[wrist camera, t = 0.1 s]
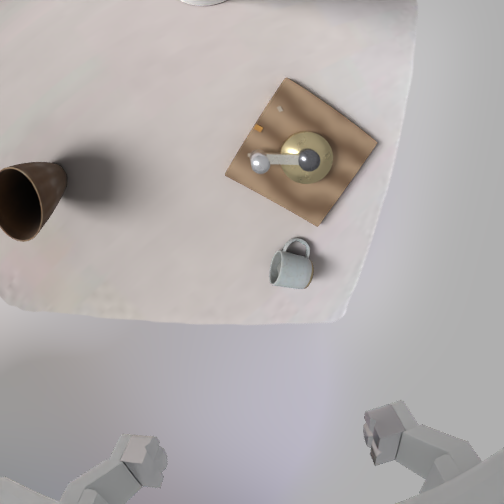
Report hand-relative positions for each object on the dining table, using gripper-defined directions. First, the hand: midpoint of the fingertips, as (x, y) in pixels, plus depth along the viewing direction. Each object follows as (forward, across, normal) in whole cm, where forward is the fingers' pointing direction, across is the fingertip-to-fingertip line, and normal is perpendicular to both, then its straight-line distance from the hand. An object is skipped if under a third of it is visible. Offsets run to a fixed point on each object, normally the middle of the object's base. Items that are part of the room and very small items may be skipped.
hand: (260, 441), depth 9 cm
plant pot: (+48, +42, -22) cm, 67 cm away
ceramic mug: (+58, -7, +8) cm, 59 cm away
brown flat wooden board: (+50, -12, -14) cm, 53 cm away
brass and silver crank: (+48, -9, -14) cm, 51 cm away
